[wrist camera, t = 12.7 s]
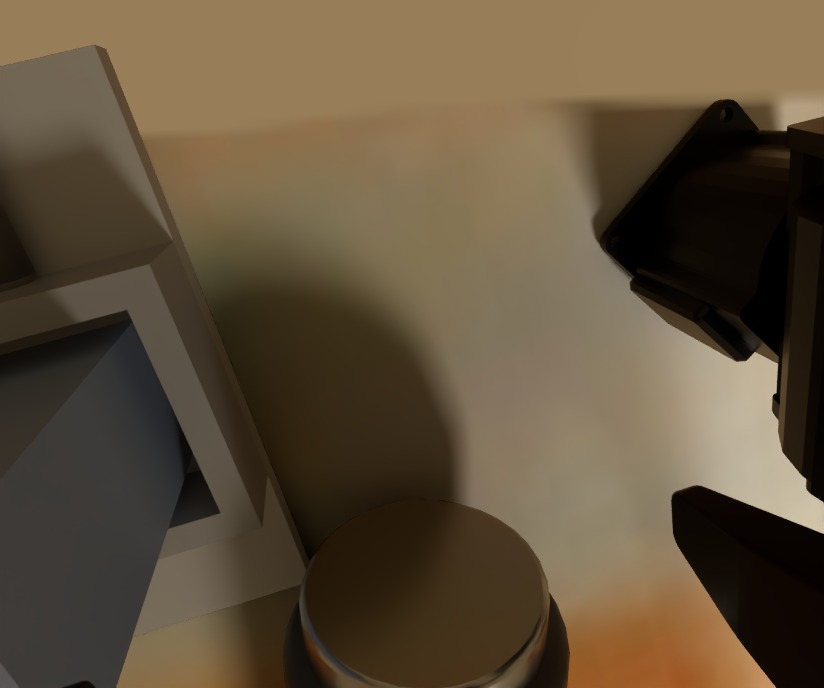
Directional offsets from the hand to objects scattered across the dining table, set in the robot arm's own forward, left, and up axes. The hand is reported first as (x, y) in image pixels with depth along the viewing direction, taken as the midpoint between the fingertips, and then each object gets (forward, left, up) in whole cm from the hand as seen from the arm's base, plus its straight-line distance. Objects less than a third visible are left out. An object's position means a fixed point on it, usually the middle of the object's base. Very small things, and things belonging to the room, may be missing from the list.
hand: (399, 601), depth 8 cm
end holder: (+7, -5, -13) cm, 16 cm away
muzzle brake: (+15, +15, -13) cm, 25 cm away
